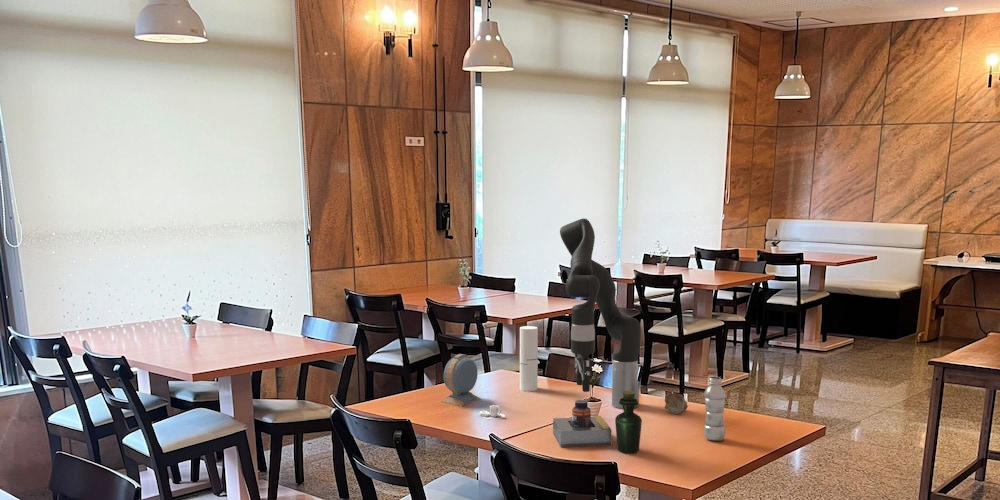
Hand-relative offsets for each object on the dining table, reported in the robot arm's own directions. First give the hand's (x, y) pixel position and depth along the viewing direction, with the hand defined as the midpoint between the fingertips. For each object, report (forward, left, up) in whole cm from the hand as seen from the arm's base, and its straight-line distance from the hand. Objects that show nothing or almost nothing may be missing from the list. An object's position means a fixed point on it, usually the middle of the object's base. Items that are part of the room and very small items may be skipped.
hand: (583, 388), depth 244 cm
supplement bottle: (0, 0, -16) cm, 16 cm away
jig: (0, 0, -17) cm, 17 cm away
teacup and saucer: (+26, -32, -17) cm, 45 cm away
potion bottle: (-12, +12, -17) cm, 24 cm away
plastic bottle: (-42, +5, -17) cm, 45 cm away
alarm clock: (+36, -51, -17) cm, 65 cm away
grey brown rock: (-40, -27, -17) cm, 51 cm away
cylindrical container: (+8, -65, -17) cm, 68 cm away
